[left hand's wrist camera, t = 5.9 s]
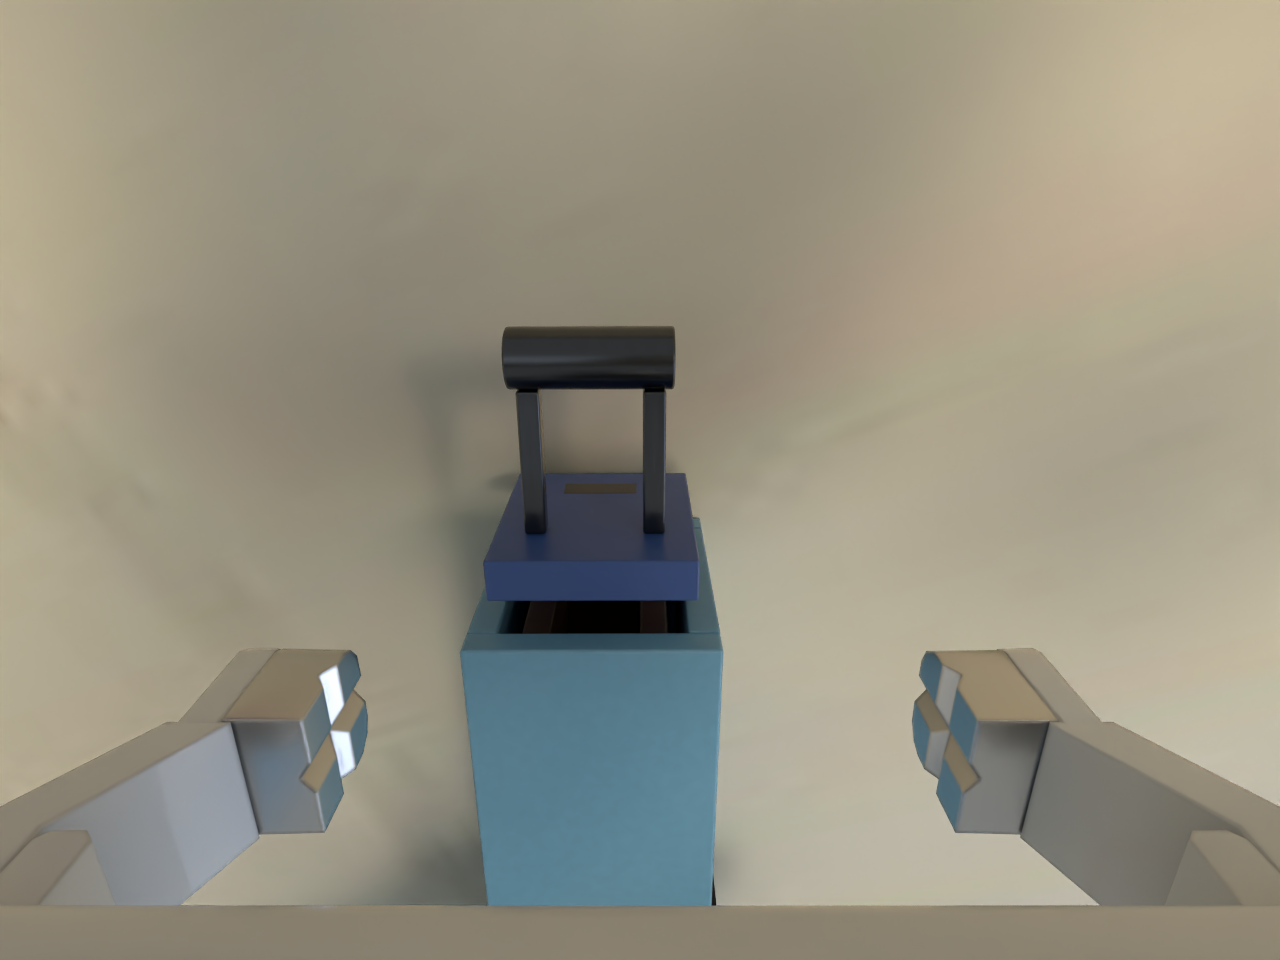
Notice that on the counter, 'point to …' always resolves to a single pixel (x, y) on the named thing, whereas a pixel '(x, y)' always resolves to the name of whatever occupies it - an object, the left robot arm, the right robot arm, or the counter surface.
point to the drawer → (593, 494)
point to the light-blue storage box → (596, 756)
